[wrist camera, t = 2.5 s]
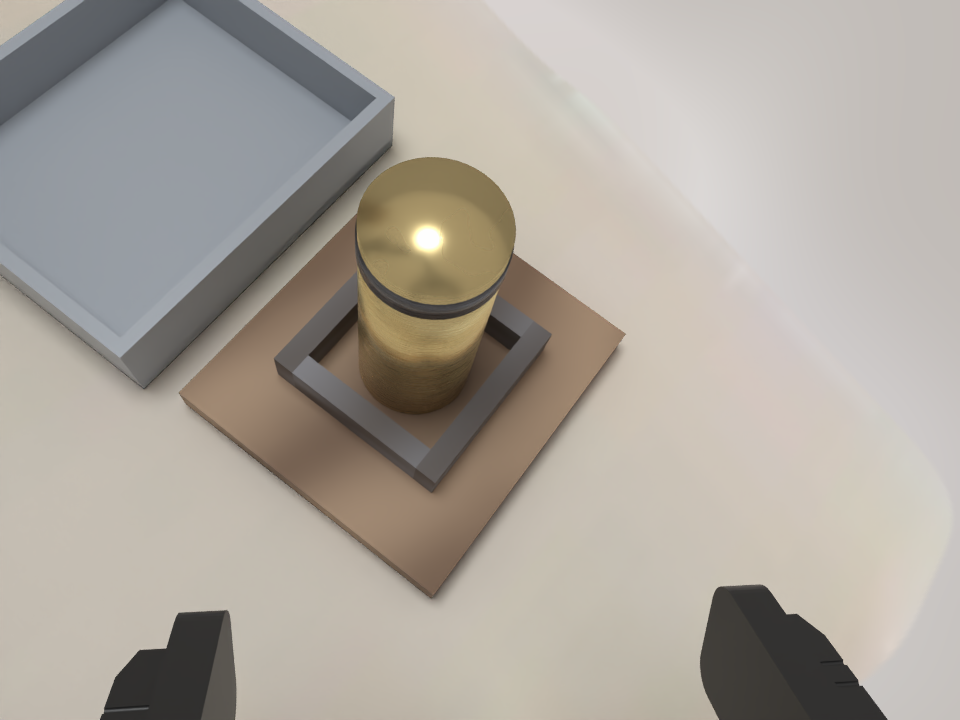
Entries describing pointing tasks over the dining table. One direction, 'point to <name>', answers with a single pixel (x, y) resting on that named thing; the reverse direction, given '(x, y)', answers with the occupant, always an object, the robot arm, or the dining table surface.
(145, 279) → the tray
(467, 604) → the dining table surface
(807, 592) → the dining table surface
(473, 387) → the pin dock
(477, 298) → the pin
